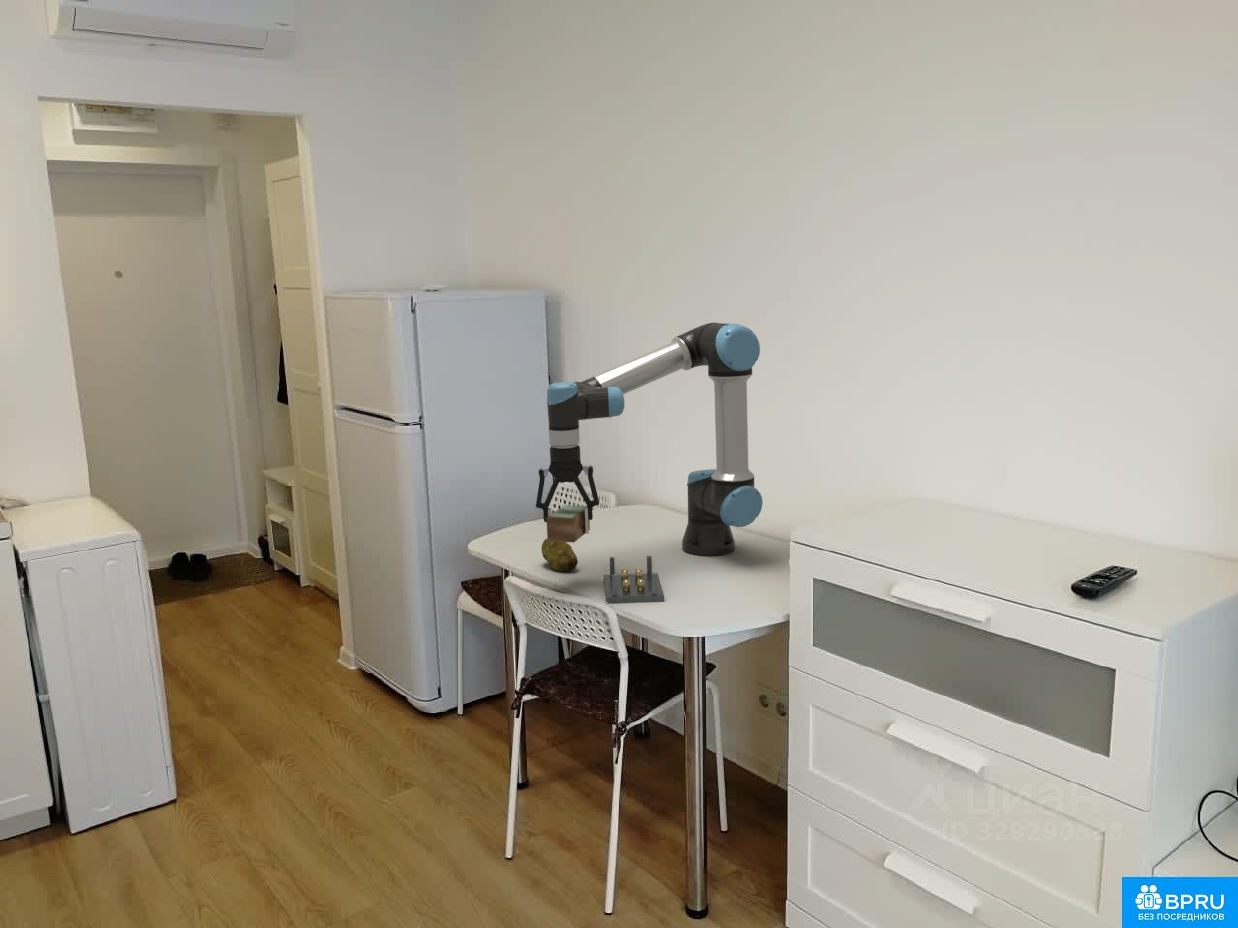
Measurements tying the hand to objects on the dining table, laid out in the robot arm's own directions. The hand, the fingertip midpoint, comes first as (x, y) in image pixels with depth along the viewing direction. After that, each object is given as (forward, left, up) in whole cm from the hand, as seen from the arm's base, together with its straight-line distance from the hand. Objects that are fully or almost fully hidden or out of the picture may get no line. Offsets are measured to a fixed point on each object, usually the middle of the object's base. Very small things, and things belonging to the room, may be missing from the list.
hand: (569, 533), depth 247 cm
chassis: (-16, +5, -14) cm, 22 cm away
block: (0, 0, -1) cm, 1 cm away
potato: (+3, -16, -14) cm, 22 cm away
